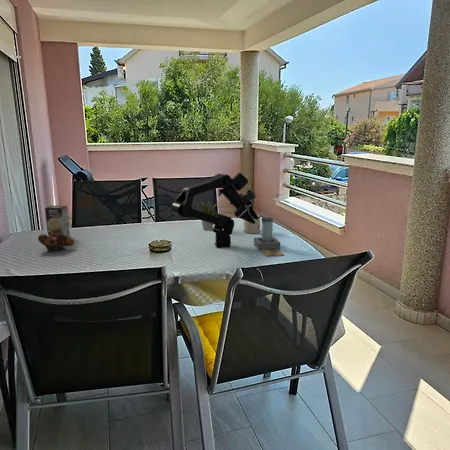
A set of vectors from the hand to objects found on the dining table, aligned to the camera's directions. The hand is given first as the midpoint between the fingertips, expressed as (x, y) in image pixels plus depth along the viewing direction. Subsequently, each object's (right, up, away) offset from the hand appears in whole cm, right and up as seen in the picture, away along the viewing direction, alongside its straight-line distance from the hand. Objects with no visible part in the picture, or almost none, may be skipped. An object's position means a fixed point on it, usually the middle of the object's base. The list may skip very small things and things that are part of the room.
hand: (256, 221), depth 182 cm
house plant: (-26, -4, +34) cm, 43 cm away
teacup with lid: (0, -5, +30) cm, 30 cm away
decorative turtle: (-92, -13, -2) cm, 93 cm away
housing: (+5, -12, +1) cm, 13 cm away
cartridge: (+5, -12, +1) cm, 13 cm away
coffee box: (-100, -8, +19) cm, 102 cm away
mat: (+7, -14, -8) cm, 18 cm away
